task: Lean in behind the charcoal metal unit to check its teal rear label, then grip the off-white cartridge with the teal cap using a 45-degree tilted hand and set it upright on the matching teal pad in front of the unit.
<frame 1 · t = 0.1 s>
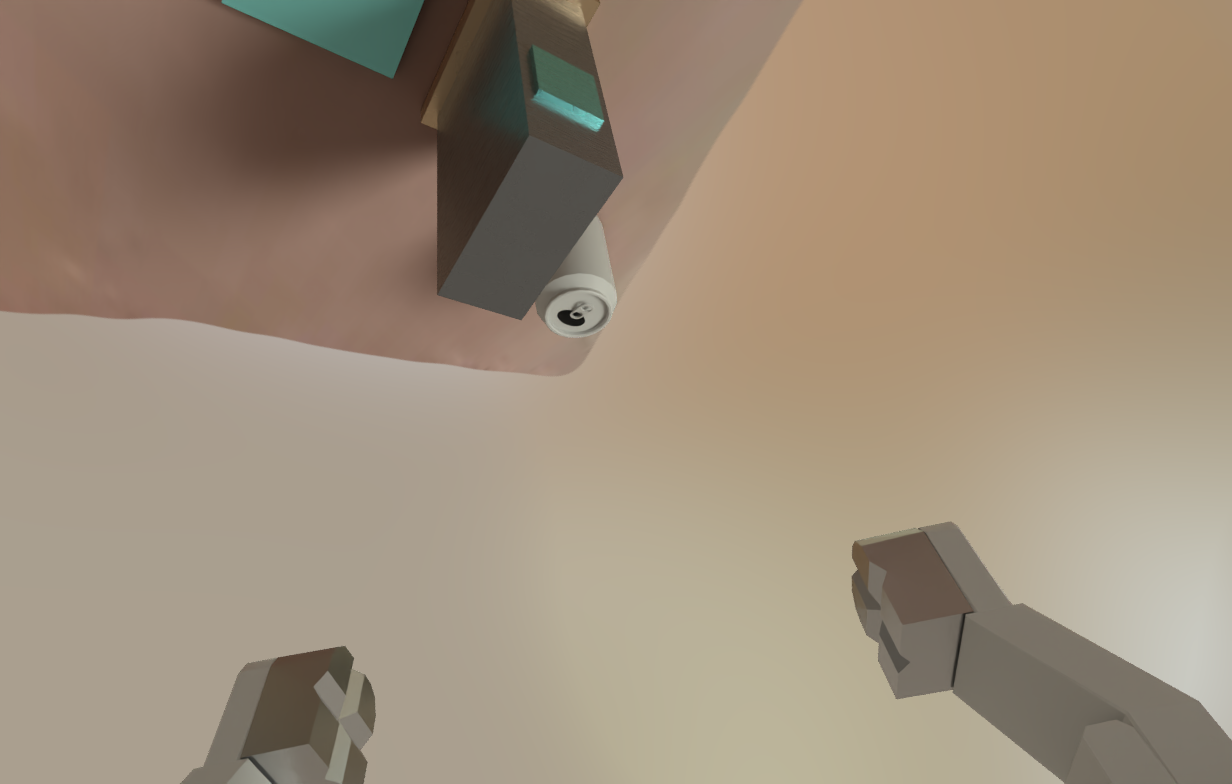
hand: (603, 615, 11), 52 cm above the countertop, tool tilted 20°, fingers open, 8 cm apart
can: (564, 227, 72), on the countertop
mounted unit: (504, 52, 57), on the countertop
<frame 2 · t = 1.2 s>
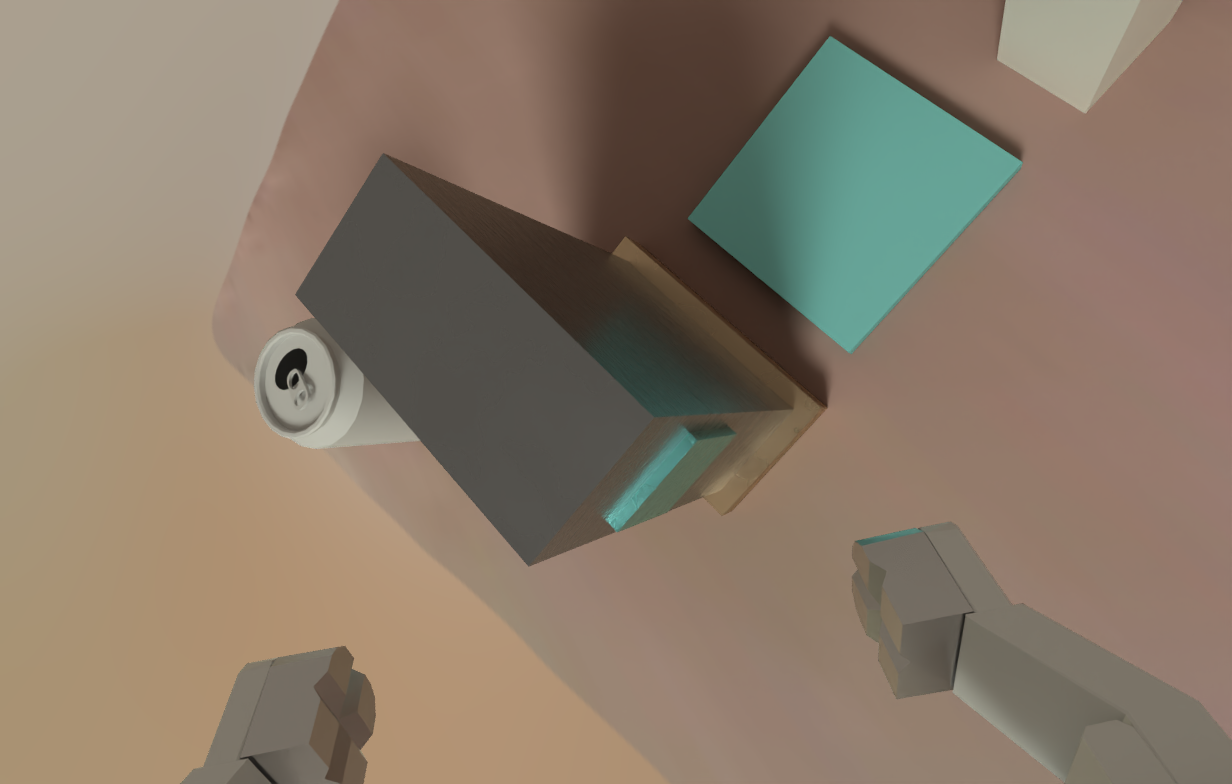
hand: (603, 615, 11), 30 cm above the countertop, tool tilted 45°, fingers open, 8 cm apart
can: (433, 386, 51), on the countertop
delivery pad: (842, 197, 39), on the countertop
mounted unit: (683, 372, 43), on the countertop
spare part: (1080, 41, 34), on the countertop
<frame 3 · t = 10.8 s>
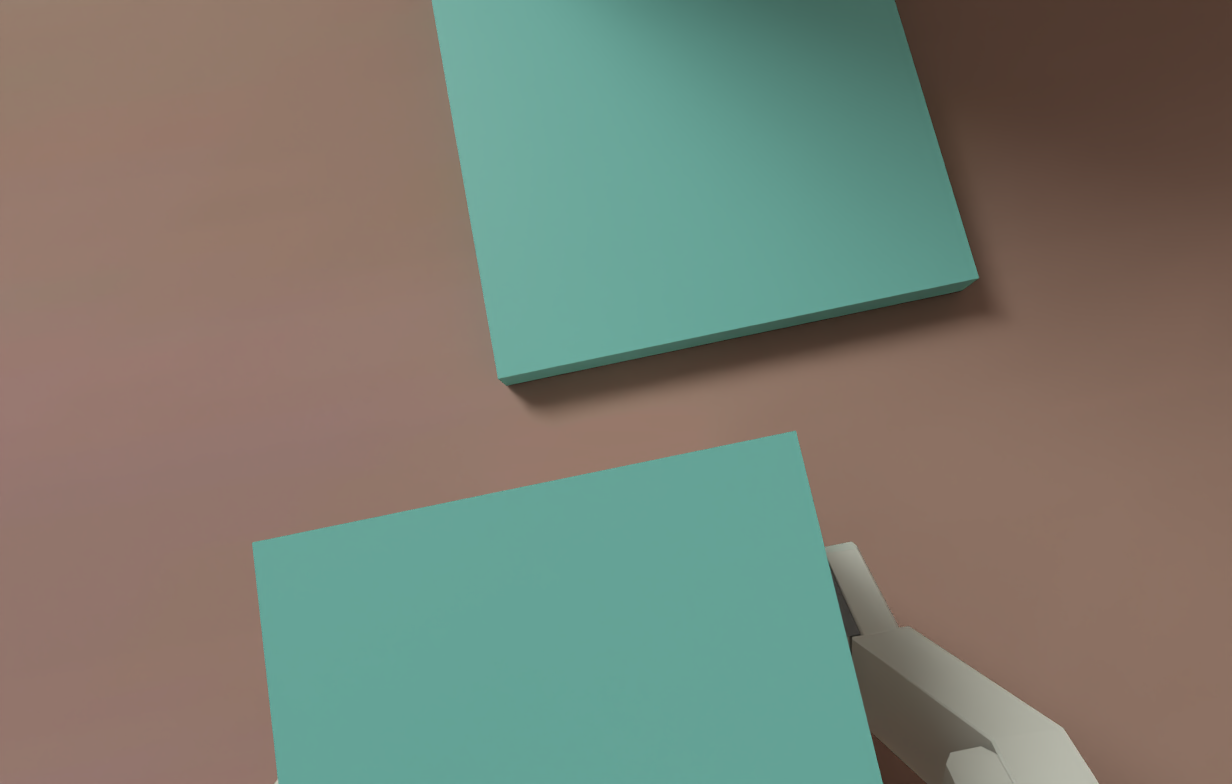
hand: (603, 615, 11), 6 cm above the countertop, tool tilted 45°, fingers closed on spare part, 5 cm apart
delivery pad: (683, 129, 20), on the countertop
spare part: (627, 604, 18), on the countertop, touching gripper
when the fingers open (8 cm above the countertop, at t = 18.7 s): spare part stays where it is, resting on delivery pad.
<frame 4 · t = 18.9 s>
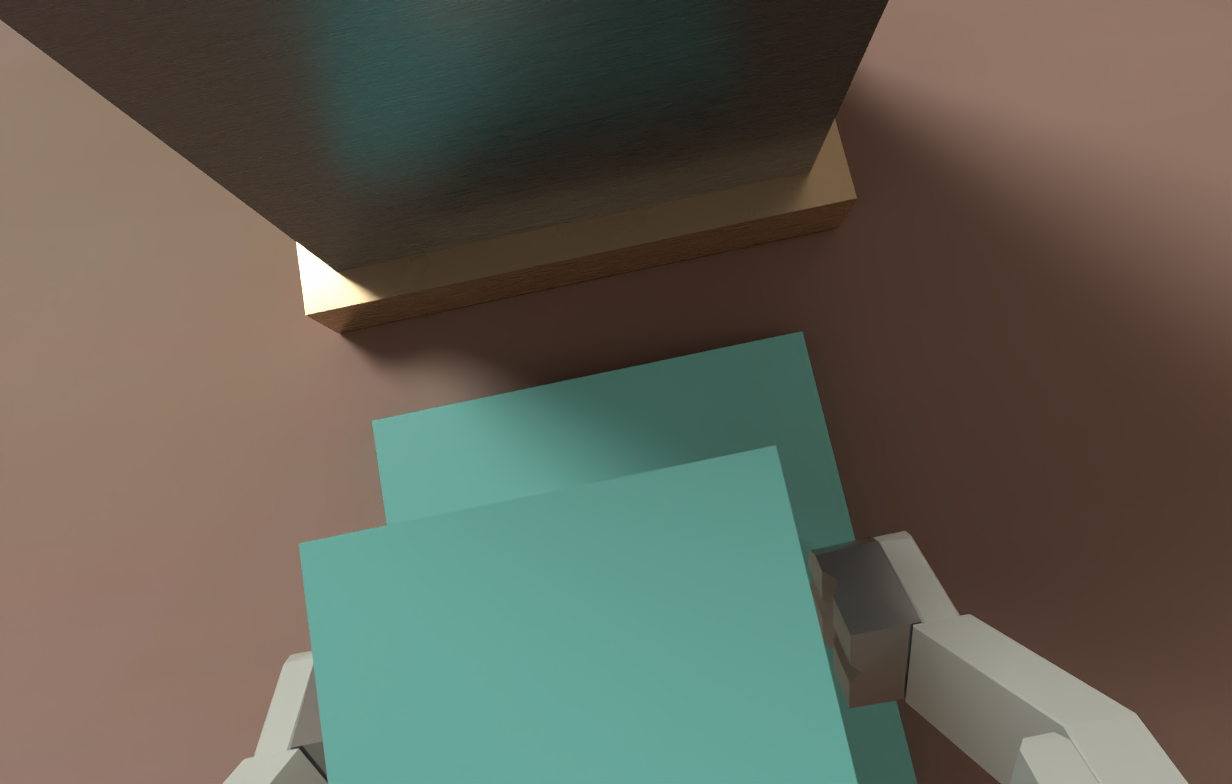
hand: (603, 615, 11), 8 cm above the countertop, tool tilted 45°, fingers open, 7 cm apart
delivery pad: (631, 595, 20), on the countertop
mounted unit: (561, 156, 22), on the countertop
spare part: (628, 601, 19), point 1 cm above the countertop, touching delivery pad
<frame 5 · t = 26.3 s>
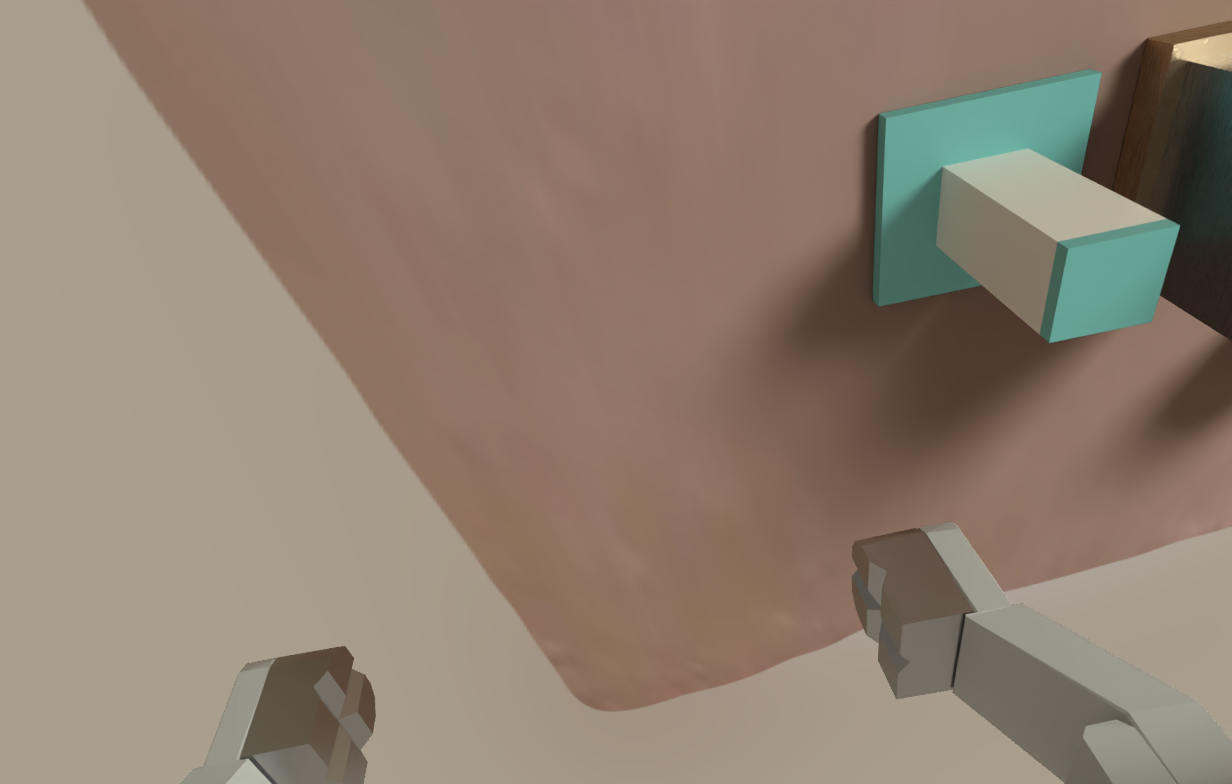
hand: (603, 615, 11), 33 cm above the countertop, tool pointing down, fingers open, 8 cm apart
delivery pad: (972, 193, 44), on the countertop
mounted unit: (1181, 157, 44), on the countertop
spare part: (980, 198, 43), point 1 cm above the countertop, touching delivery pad
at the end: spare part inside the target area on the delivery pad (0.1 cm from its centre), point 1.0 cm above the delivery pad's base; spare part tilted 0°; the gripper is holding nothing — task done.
